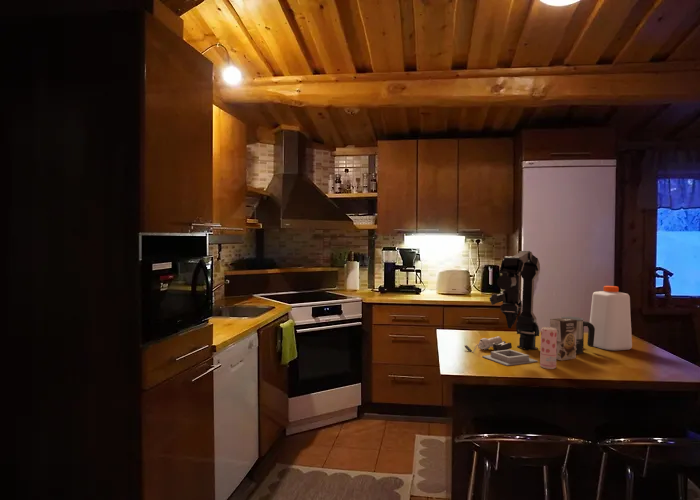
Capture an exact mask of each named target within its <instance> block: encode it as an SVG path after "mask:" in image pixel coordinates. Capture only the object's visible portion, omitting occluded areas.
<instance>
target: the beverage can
mask: <svg viewBox="0 0 700 500" xmlns="http://www.w3.org/2000/svg"><path fill="white" fill-rule="evenodd" d="M539 352H540V355H539V356H540V358H539V366H540V367H541V368H542V369H548V370H554V369H556V368H557V359H556V352H557V329H556V328H552V327H550V326H543V327H541V329H540V351H539Z"/></svg>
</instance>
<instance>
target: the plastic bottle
mask: <svg viewBox="0 0 700 500" xmlns="http://www.w3.org/2000/svg"><path fill="white" fill-rule="evenodd" d="M619 290H620V288H619V286H616V285H604V286H603V290H599V291H594V292H593V293H592V297H591V307H590V313H589V314H590V315H589V322H590V323H591V324H592V325H593V326H594V328H595V334H594V344H593V346H592V347H594V348H598V349H602V350H605V351H611V352H612V351H613V352H615V351H617V352H618V351H628V350H631V349H632V347H633V339H632V338H633V336H632V321H631V320H632V319H631V297H630V295H629V293H625V292H621V291H619Z"/></svg>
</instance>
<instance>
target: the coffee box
mask: <svg viewBox="0 0 700 500" xmlns="http://www.w3.org/2000/svg"><path fill="white" fill-rule="evenodd" d="M549 321H550V322H549V327H552V328H556V329H557V352H556V360H559V361H566V360H573V359H576V357H577V354H576V333H577V320H574V319H567V318H561V317H560V318H558V317H557V318H550V320H549Z"/></svg>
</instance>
